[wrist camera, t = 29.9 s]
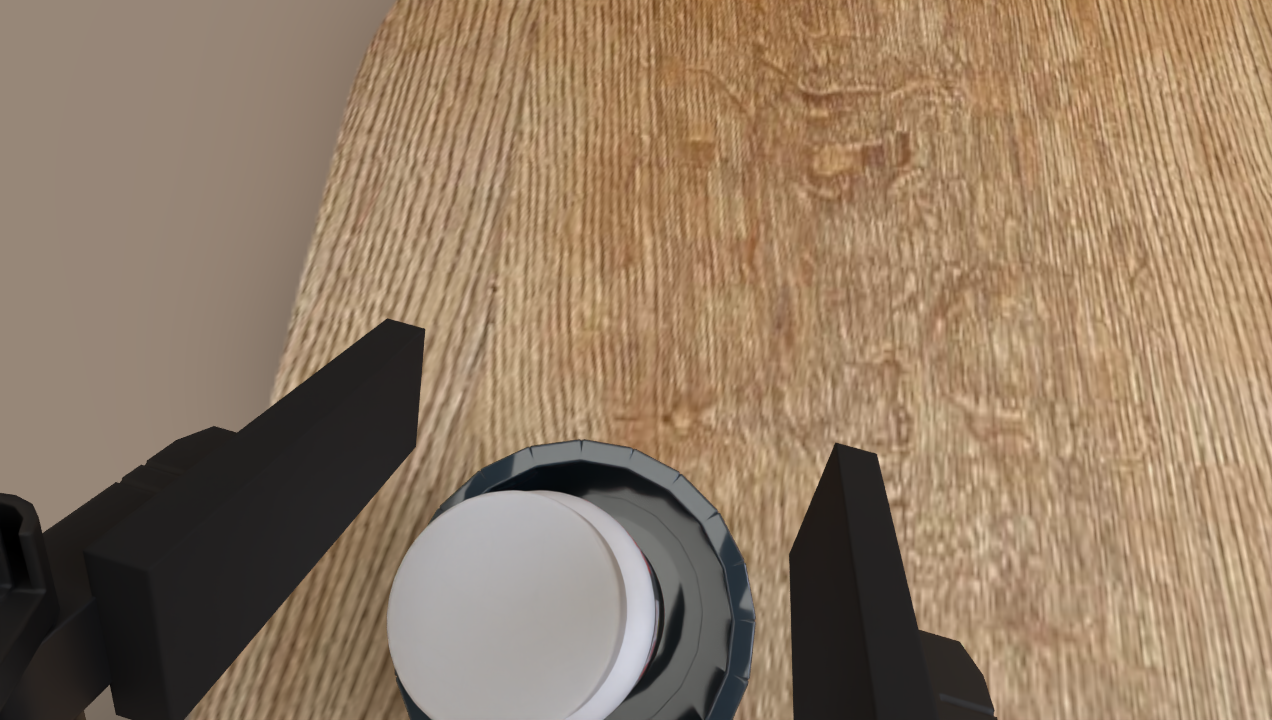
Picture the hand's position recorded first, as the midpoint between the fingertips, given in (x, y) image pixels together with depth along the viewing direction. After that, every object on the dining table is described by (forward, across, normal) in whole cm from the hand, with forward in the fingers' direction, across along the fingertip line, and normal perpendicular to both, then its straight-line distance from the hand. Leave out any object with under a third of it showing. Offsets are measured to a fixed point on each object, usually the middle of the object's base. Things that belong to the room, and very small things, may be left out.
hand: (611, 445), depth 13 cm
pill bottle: (+6, 0, -10) cm, 12 cm away
